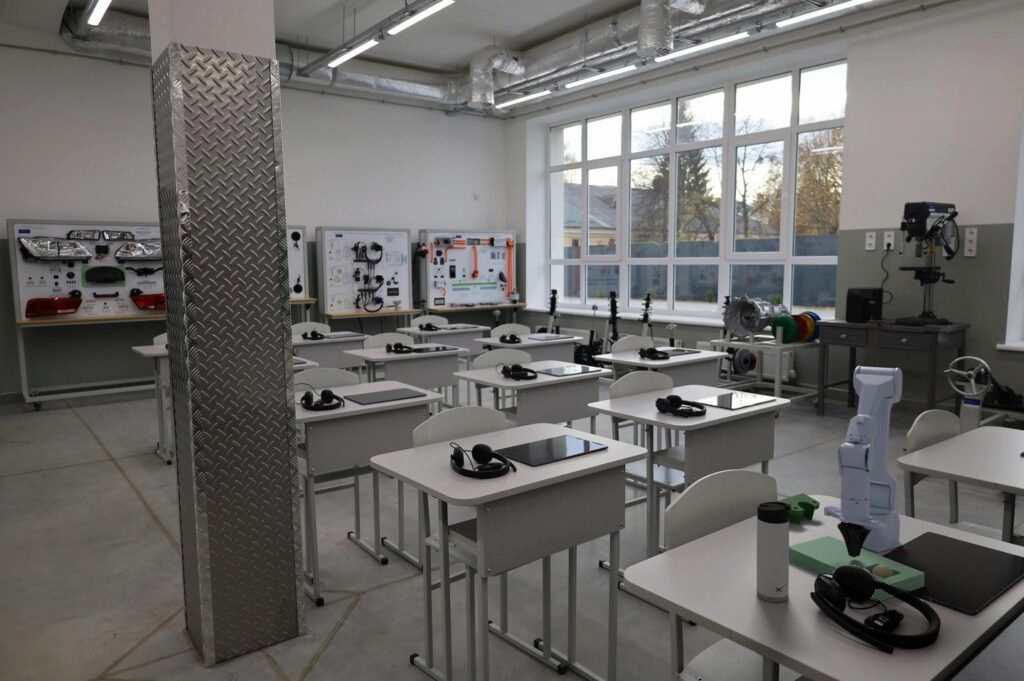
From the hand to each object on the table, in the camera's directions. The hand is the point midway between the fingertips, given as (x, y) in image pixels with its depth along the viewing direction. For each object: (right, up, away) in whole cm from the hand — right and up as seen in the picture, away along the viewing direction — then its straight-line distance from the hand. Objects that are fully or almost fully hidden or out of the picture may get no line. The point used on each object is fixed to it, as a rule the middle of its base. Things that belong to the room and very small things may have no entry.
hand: (854, 555), depth 151 cm
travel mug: (-22, -6, -9) cm, 24 cm away
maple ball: (+3, -2, -6) cm, 7 cm away
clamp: (+2, -1, +34) cm, 34 cm away
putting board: (0, -4, +1) cm, 4 cm away
